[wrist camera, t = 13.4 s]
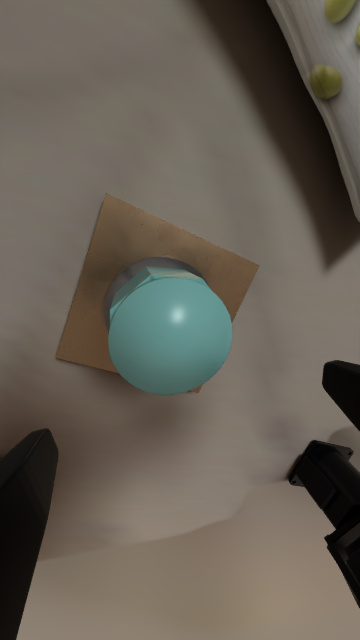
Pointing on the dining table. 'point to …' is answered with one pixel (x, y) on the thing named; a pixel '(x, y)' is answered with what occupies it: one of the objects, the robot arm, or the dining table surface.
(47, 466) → the robot arm
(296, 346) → the dining table surface
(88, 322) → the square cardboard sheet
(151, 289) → the cap
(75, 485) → the dining table surface
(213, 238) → the dining table surface
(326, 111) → the frozen beans
